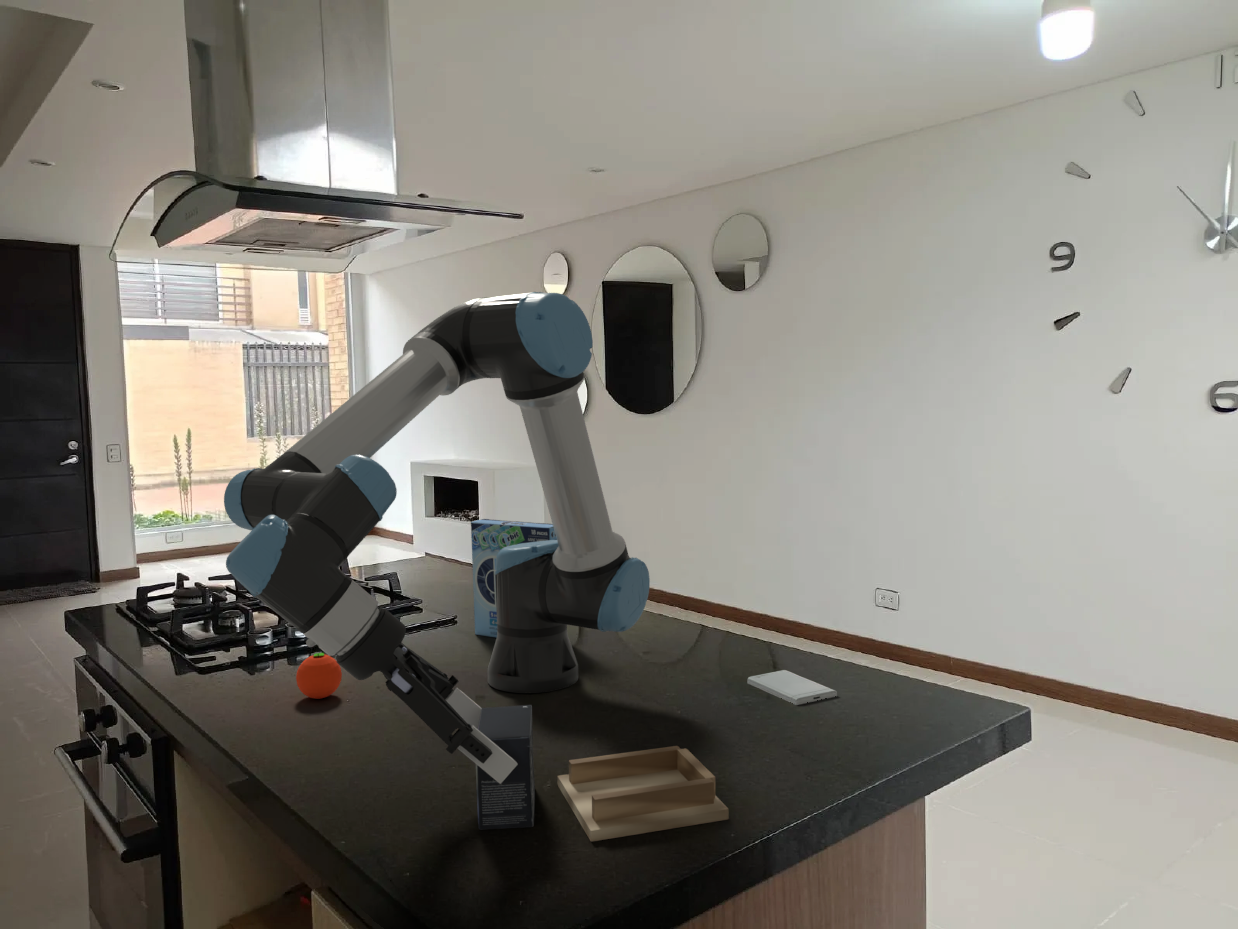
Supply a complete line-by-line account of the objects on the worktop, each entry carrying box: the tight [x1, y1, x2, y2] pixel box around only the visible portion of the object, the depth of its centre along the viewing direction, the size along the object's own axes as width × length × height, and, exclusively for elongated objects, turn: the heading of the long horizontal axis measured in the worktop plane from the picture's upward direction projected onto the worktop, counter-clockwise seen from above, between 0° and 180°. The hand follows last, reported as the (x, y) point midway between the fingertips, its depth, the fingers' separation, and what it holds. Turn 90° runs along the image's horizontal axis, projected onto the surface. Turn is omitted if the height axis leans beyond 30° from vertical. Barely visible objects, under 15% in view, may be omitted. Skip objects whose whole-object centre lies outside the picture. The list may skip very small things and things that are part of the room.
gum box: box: [470, 518, 557, 639], centre depth 180 cm, size 20×5×23 cm, turn 59°
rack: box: [557, 745, 730, 842], centre depth 108 cm, size 15×16×4 cm
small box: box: [475, 704, 536, 831], centre depth 106 cm, size 11×6×10 cm, turn 5°
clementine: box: [295, 652, 343, 700], centre depth 147 cm, size 8×7×7 cm
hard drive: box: [746, 669, 838, 706], centre depth 148 cm, size 2×8×12 cm
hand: (498, 750), depth 105 cm, fingers open, 13 cm apart
